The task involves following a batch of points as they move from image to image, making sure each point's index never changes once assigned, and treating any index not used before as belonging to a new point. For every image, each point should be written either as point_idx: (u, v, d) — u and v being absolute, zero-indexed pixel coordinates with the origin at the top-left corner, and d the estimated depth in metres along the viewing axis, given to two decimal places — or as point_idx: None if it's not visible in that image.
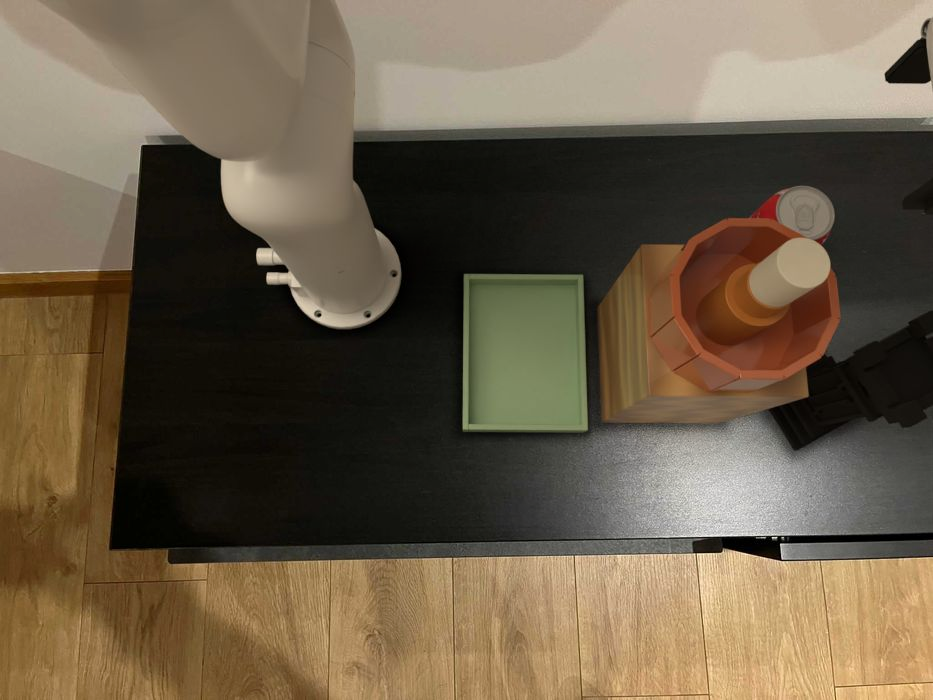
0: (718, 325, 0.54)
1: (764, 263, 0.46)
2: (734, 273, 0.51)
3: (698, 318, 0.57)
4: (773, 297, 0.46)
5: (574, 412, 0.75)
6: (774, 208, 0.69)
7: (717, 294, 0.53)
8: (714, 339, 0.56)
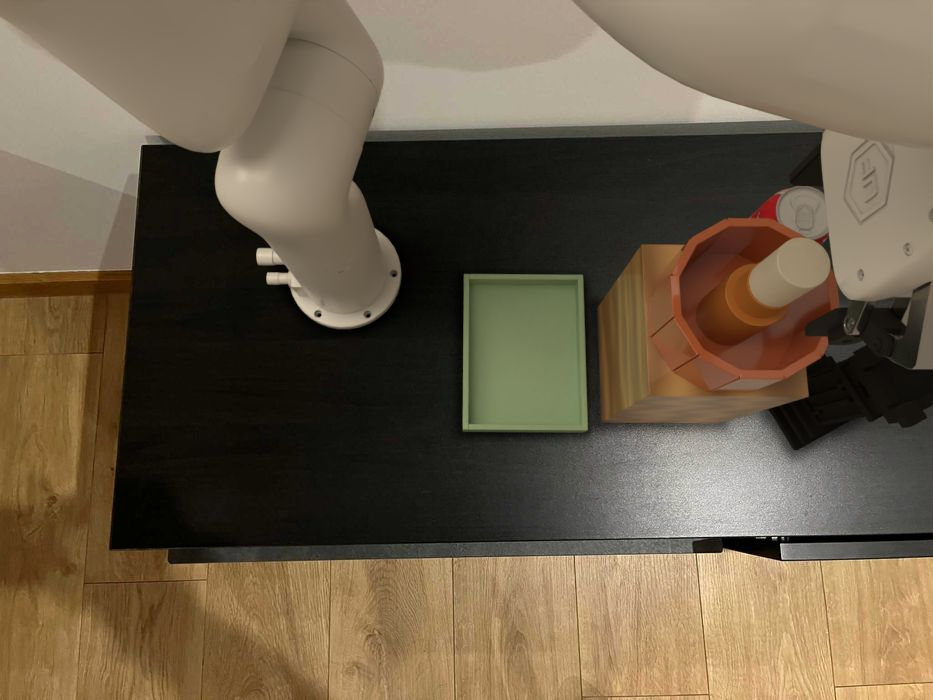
0: (718, 325, 0.54)
1: (764, 263, 0.46)
2: (734, 273, 0.51)
3: (698, 318, 0.57)
4: (773, 297, 0.46)
5: (574, 412, 0.75)
6: (774, 208, 0.69)
7: (717, 294, 0.53)
8: (714, 339, 0.56)
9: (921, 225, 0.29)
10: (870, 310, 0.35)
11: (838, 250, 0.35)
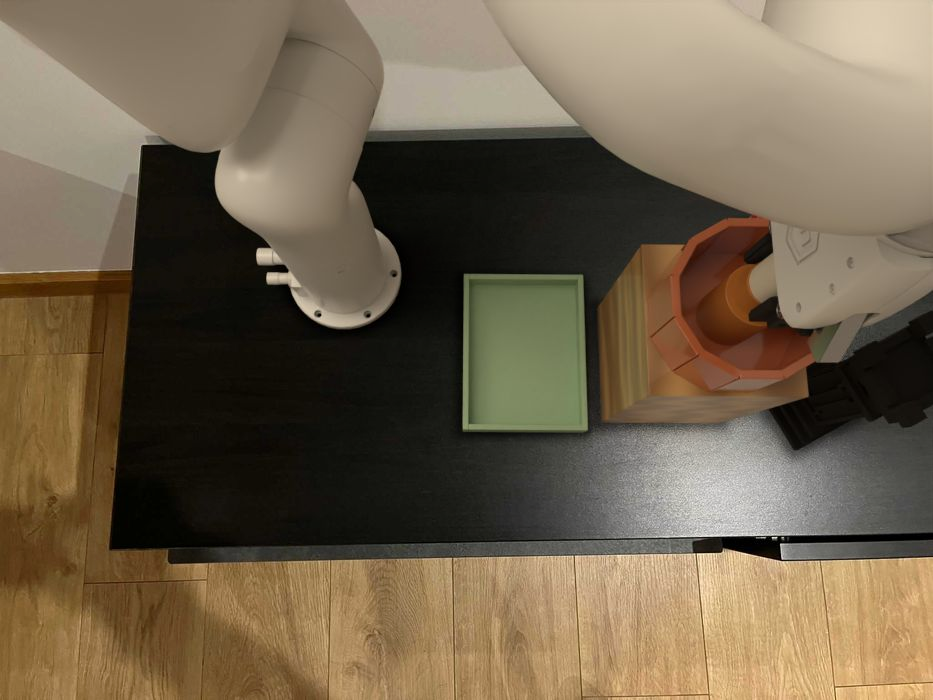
0: (718, 325, 0.54)
1: (764, 263, 0.46)
2: (734, 273, 0.51)
3: (698, 318, 0.57)
4: None
5: (574, 412, 0.75)
6: None
7: (717, 294, 0.53)
8: (714, 338, 0.56)
9: (842, 270, 0.35)
10: None
11: (782, 284, 0.41)
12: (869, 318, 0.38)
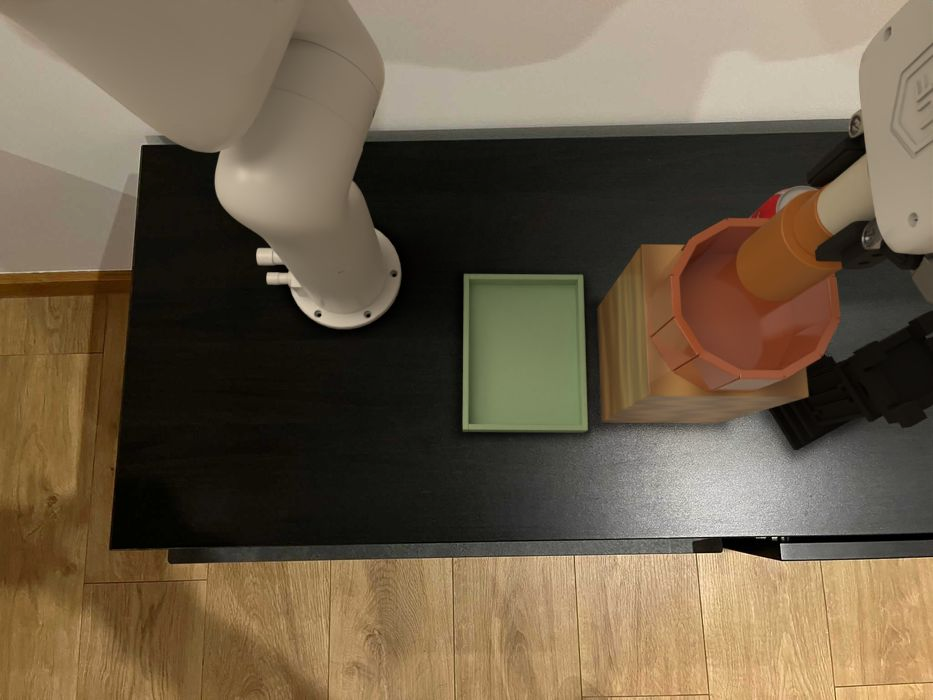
0: (767, 273, 0.42)
1: (842, 178, 0.34)
2: (792, 202, 0.39)
3: (739, 267, 0.45)
4: None
5: (574, 412, 0.75)
6: (774, 208, 0.69)
7: (768, 231, 0.41)
8: (759, 293, 0.44)
9: None
10: None
11: (882, 193, 0.29)
12: None
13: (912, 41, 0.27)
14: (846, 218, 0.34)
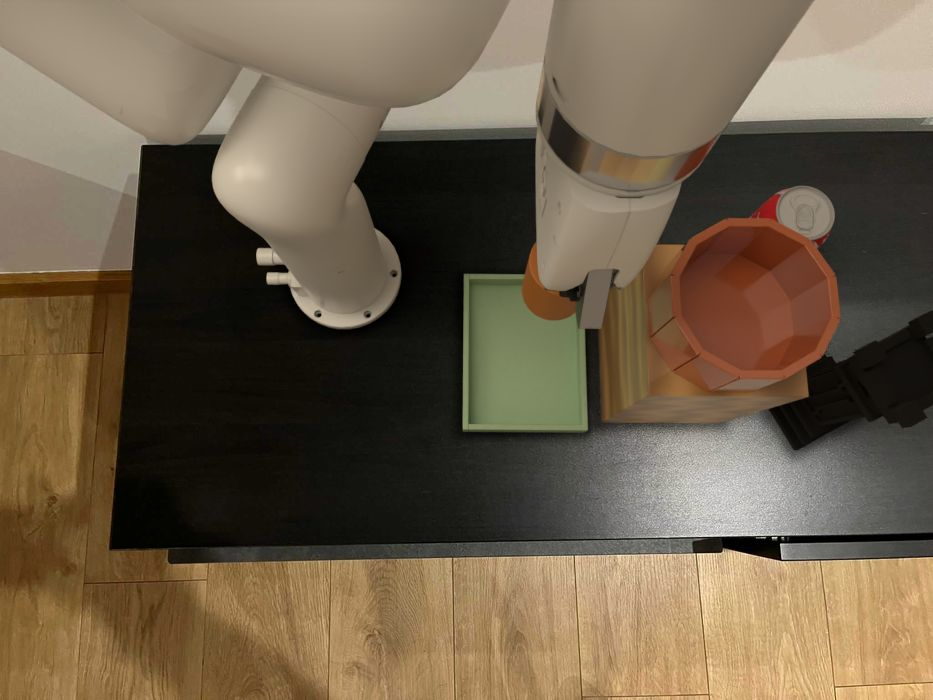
0: (532, 297, 0.50)
1: None
2: None
3: (522, 291, 0.53)
4: None
5: (574, 412, 0.75)
6: (774, 208, 0.69)
7: None
8: (537, 313, 0.52)
9: (556, 217, 0.31)
10: None
11: (537, 242, 0.37)
12: (615, 276, 0.34)
13: None
14: None
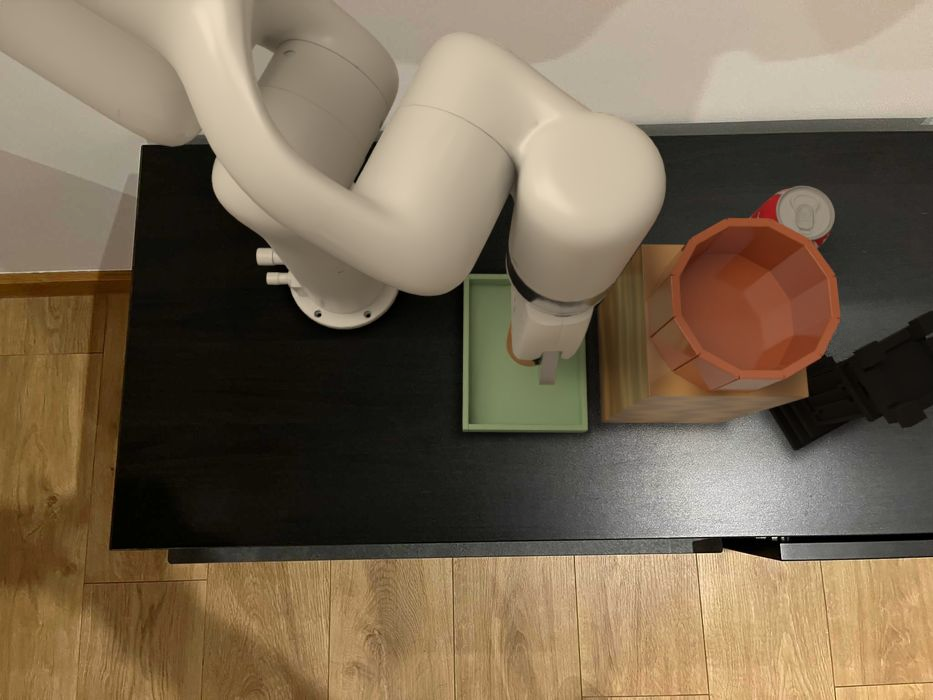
0: None
1: None
2: None
3: (506, 345, 0.71)
4: None
5: (574, 412, 0.75)
6: (774, 208, 0.69)
7: None
8: (517, 361, 0.70)
9: (520, 322, 0.49)
10: None
11: None
12: (561, 353, 0.52)
13: None
14: None
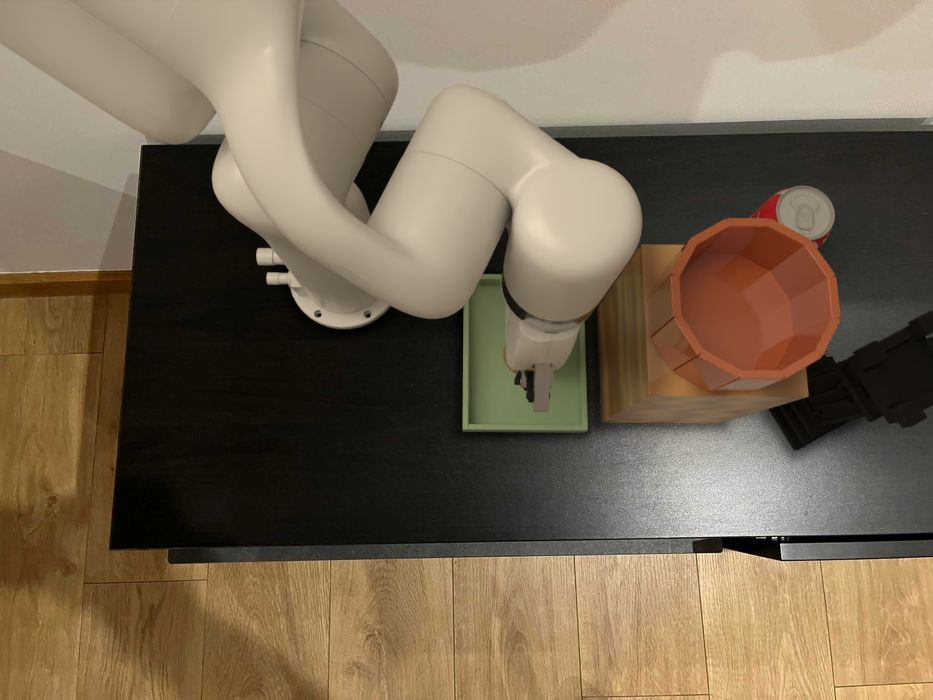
0: None
1: None
2: None
3: (503, 355, 0.76)
4: None
5: (574, 412, 0.75)
6: (774, 208, 0.69)
7: None
8: (513, 371, 0.76)
9: (513, 337, 0.54)
10: (526, 374, 0.60)
11: None
12: (551, 365, 0.57)
13: None
14: None
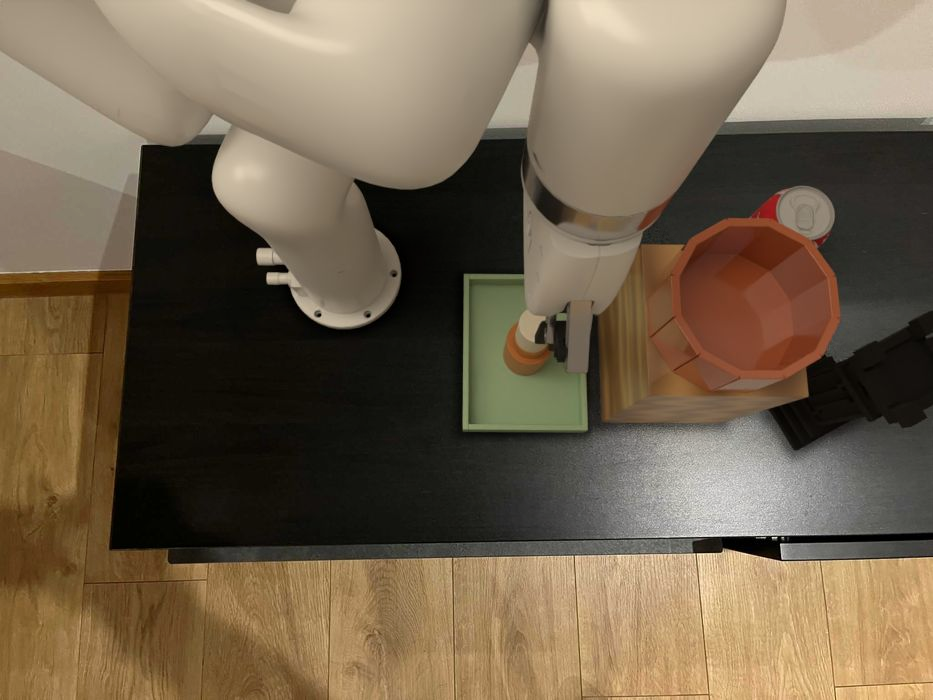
0: (509, 362, 0.73)
1: None
2: (514, 326, 0.71)
3: (503, 355, 0.76)
4: (525, 346, 0.66)
5: (574, 412, 0.75)
6: (774, 208, 0.69)
7: None
8: (513, 371, 0.76)
9: (539, 258, 0.36)
10: (554, 323, 0.43)
11: (525, 274, 0.42)
12: (591, 305, 0.40)
13: None
14: (521, 343, 0.66)
